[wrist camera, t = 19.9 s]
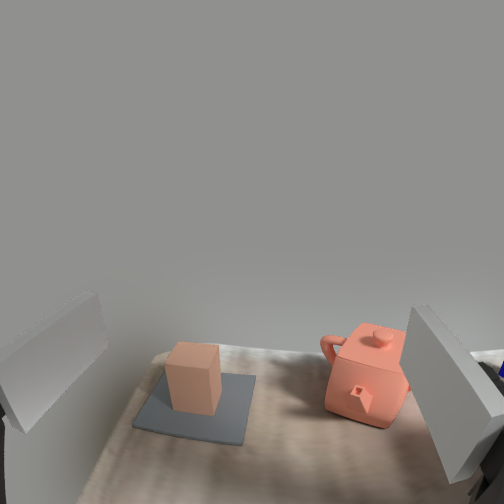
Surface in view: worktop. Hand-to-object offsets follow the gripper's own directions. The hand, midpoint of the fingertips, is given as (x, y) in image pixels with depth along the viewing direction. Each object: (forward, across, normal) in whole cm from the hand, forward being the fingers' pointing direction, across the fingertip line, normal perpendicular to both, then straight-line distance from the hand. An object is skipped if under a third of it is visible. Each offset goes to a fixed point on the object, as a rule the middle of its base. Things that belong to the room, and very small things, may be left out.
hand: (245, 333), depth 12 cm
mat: (+30, -13, -32) cm, 46 cm away
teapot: (+31, +16, -32) cm, 47 cm away
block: (+30, -13, -31) cm, 45 cm away
